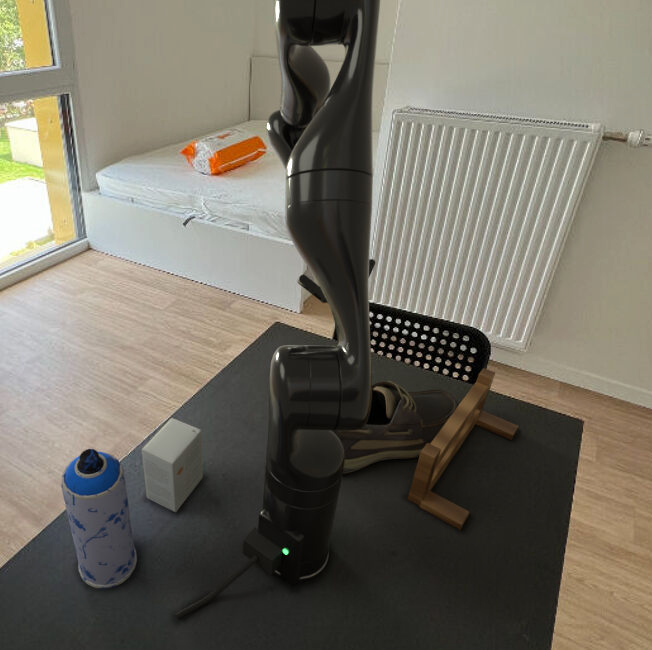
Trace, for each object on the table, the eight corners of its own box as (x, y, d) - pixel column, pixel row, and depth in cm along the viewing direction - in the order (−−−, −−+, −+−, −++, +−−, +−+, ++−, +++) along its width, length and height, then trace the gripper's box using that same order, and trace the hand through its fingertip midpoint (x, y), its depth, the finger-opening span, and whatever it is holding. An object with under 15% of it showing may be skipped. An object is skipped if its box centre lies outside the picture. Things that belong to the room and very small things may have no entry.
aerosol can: (94, 531, 76) (74, 426, 66) (145, 543, 75) (133, 438, 64) (67, 580, 70) (41, 473, 59) (123, 595, 68) (105, 488, 58)
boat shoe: (472, 436, 92) (489, 388, 86) (333, 495, 81) (342, 444, 76) (426, 400, 100) (438, 353, 95) (294, 448, 90) (299, 399, 84)
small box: (174, 464, 87) (171, 416, 82) (203, 478, 85) (202, 428, 79) (145, 498, 81) (139, 448, 76) (175, 514, 79) (172, 463, 73)
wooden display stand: (460, 530, 76) (478, 481, 71) (406, 500, 81) (419, 452, 75) (516, 431, 93) (534, 386, 88) (469, 411, 98) (484, 367, 92)
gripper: (285, 224, 83) (312, 332, 81) (368, 204, 83) (397, 312, 81) (281, 237, 90) (305, 336, 89) (357, 219, 90) (383, 318, 88)
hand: (349, 324), depth 85 cm, fingers closed
